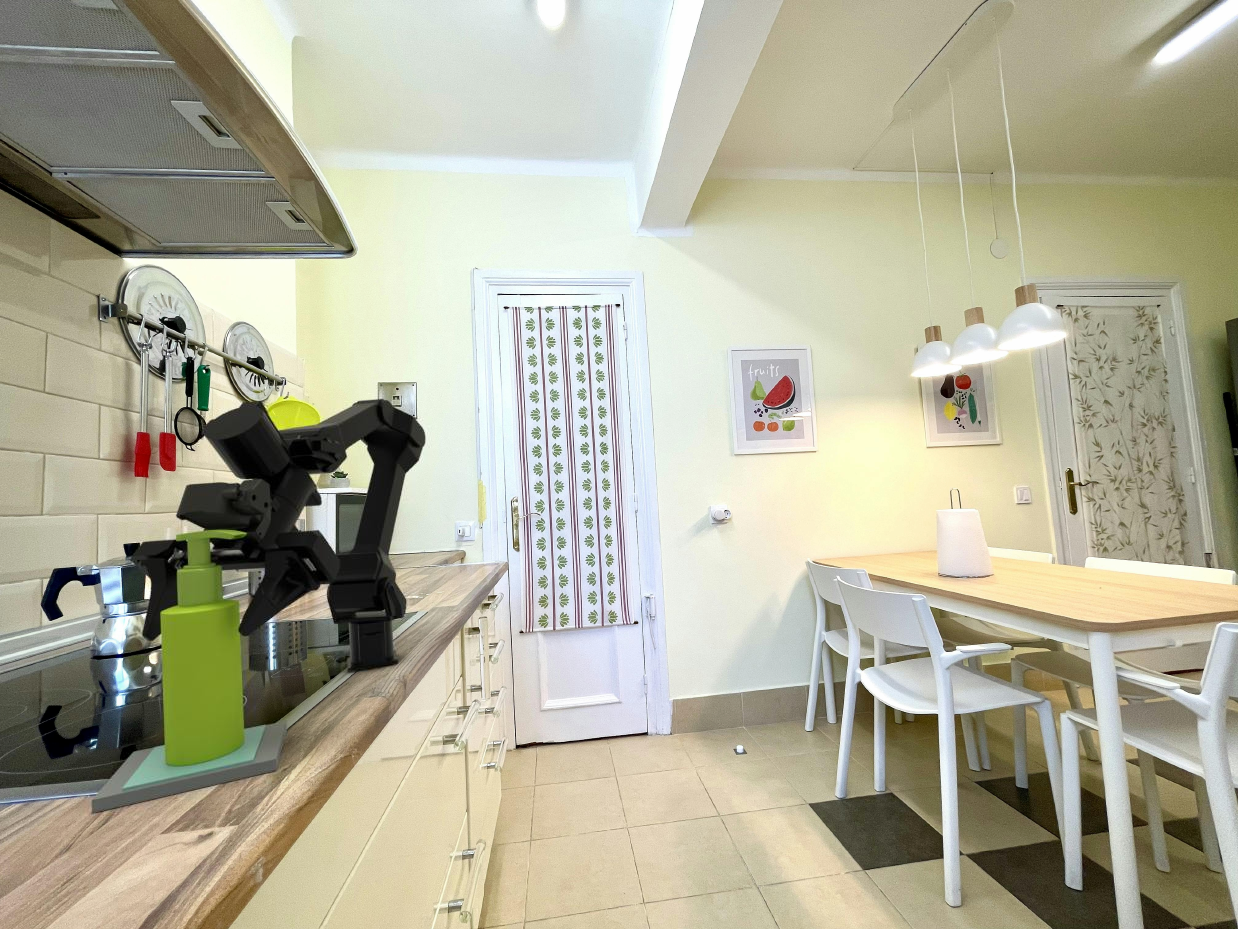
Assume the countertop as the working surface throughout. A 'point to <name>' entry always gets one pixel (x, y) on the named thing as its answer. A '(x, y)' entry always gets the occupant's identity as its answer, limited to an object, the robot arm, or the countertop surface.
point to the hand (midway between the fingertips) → (194, 636)
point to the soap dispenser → (201, 660)
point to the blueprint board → (190, 769)
